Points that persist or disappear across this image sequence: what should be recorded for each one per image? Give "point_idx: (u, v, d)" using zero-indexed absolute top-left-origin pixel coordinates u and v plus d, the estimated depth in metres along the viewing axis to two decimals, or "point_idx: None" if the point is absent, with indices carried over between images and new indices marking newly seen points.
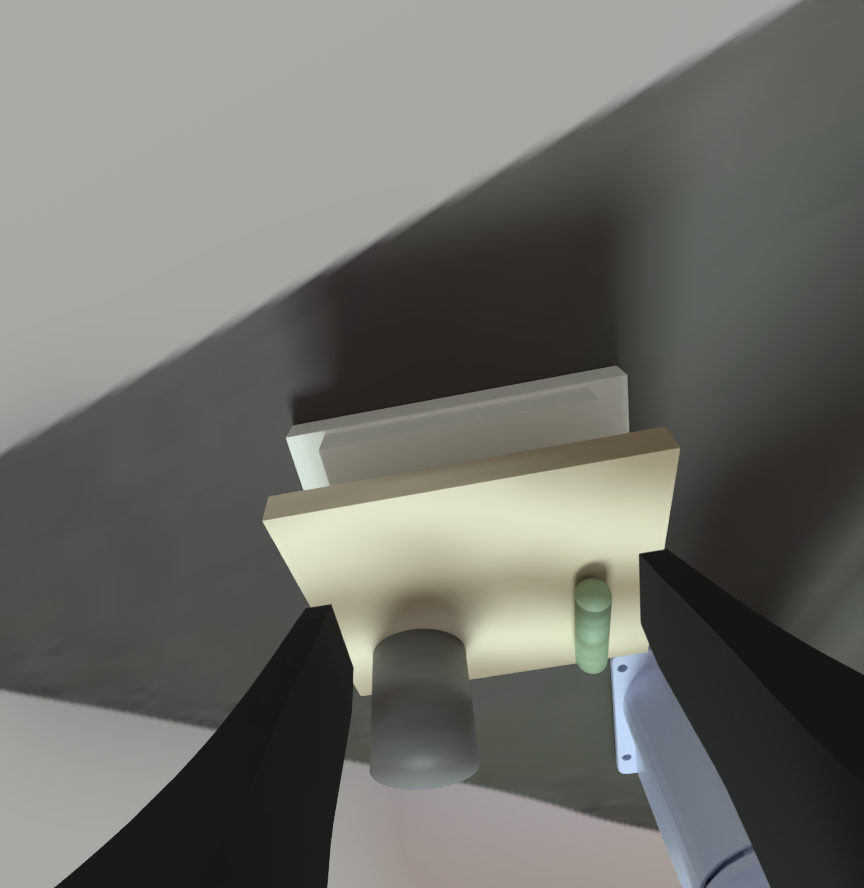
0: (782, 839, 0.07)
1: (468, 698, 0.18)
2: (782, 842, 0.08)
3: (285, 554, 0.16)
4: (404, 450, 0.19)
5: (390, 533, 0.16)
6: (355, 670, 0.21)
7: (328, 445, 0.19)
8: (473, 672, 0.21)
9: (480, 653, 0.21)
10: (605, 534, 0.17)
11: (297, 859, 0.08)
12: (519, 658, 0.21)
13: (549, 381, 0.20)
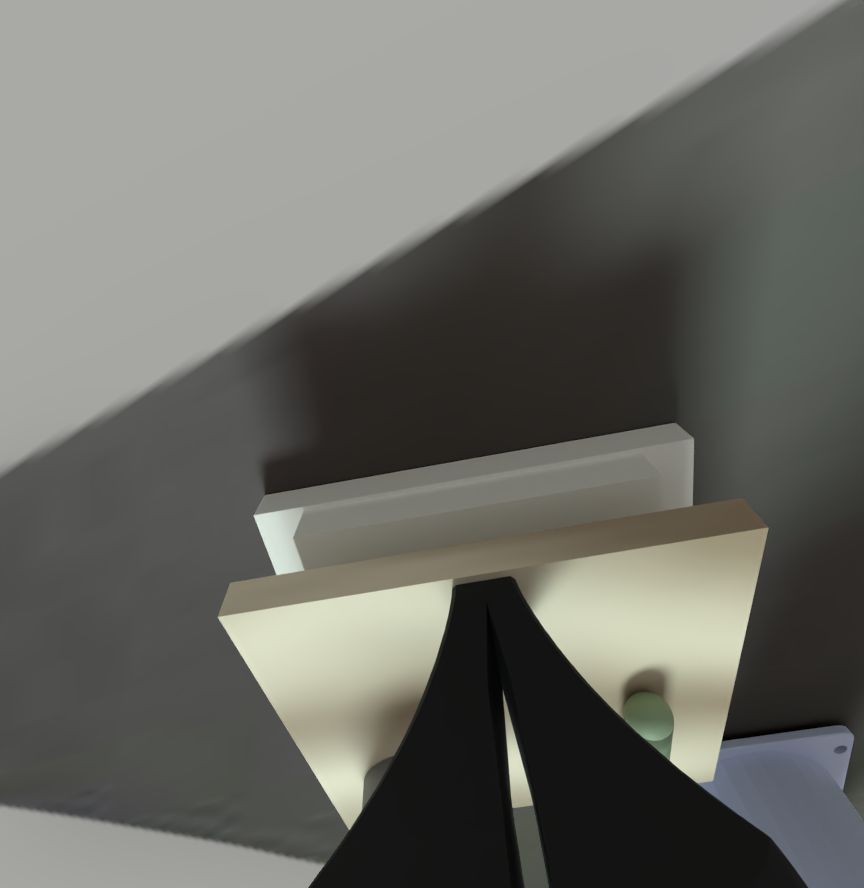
0: (546, 870, 0.08)
1: None
2: None
3: (249, 659, 0.12)
4: (404, 539, 0.14)
5: (385, 633, 0.12)
6: (342, 799, 0.16)
7: (306, 530, 0.15)
8: None
9: None
10: (664, 637, 0.13)
11: (512, 830, 0.08)
12: None
13: (590, 444, 0.16)
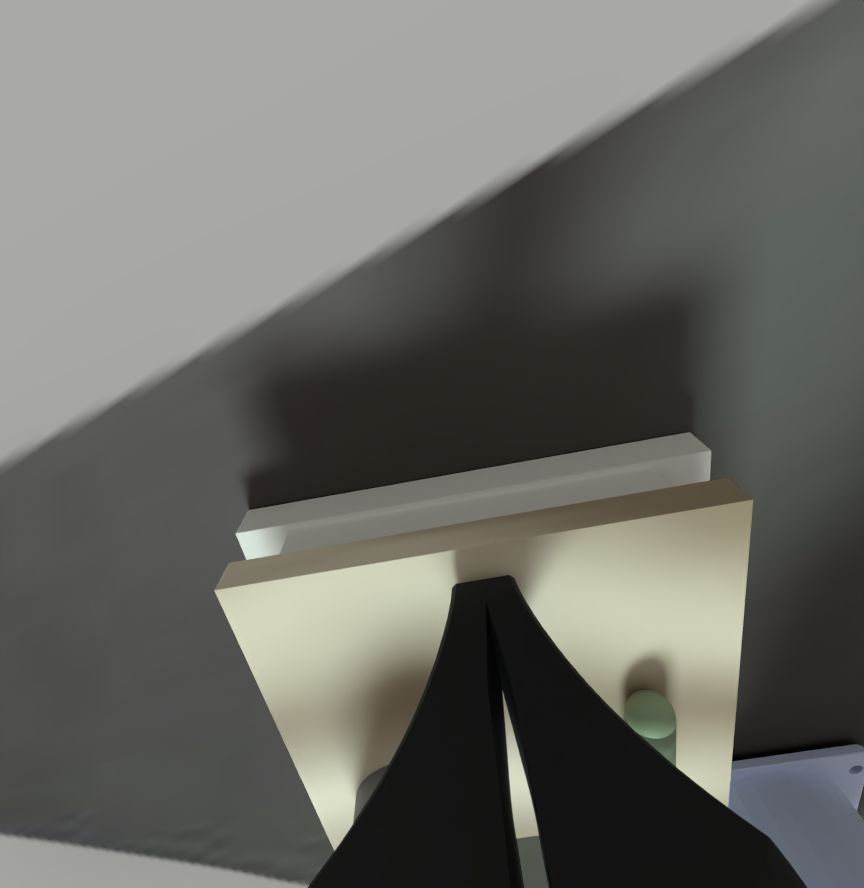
0: (546, 870, 0.08)
1: None
2: (546, 873, 0.08)
3: (243, 640, 0.12)
4: None
5: (378, 614, 0.12)
6: (332, 821, 0.15)
7: (291, 551, 0.13)
8: None
9: None
10: (660, 625, 0.13)
11: (512, 830, 0.08)
12: None
13: (598, 455, 0.15)
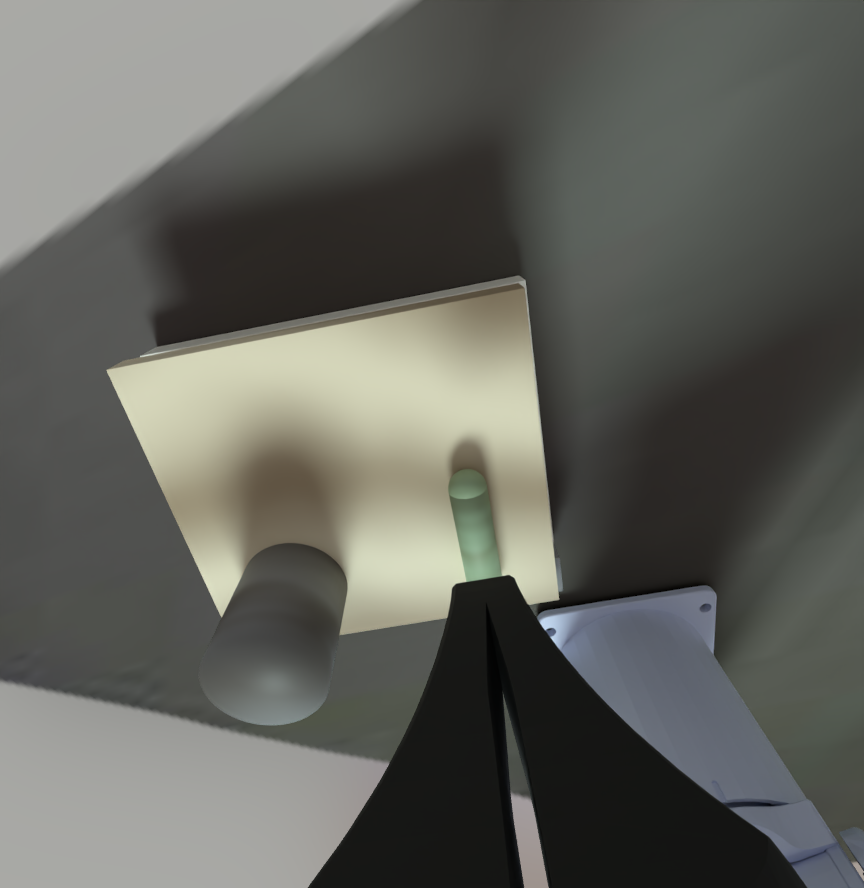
0: (545, 870, 0.08)
1: (330, 611, 0.16)
2: (546, 873, 0.08)
3: (133, 419, 0.16)
4: None
5: (240, 394, 0.15)
6: (226, 607, 0.19)
7: None
8: (361, 620, 0.19)
9: (364, 588, 0.18)
10: (471, 409, 0.16)
11: (512, 830, 0.08)
12: (411, 600, 0.19)
13: (441, 292, 0.18)
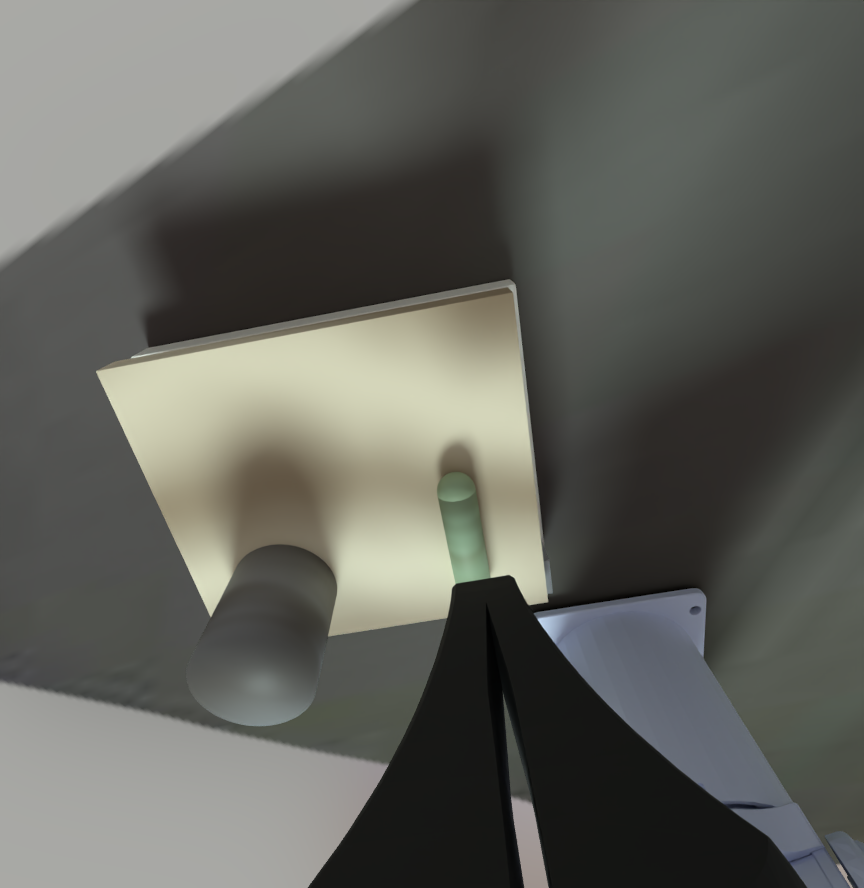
0: (546, 870, 0.08)
1: (319, 612, 0.16)
2: (546, 872, 0.08)
3: (123, 420, 0.16)
4: None
5: (230, 396, 0.15)
6: (216, 607, 0.19)
7: None
8: (351, 621, 0.19)
9: (354, 589, 0.18)
10: (459, 412, 0.16)
11: (512, 830, 0.08)
12: (400, 601, 0.19)
13: (432, 295, 0.18)
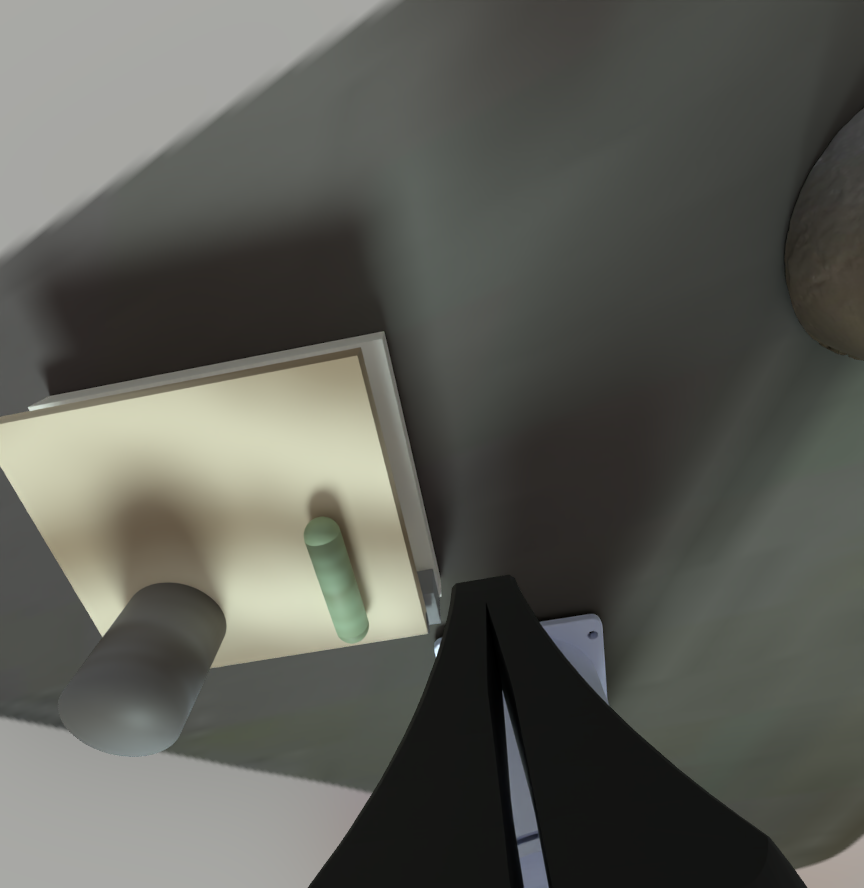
0: (546, 870, 0.08)
1: (193, 649, 0.17)
2: (546, 872, 0.08)
3: (8, 472, 0.17)
4: None
5: (105, 450, 0.16)
6: None
7: None
8: (243, 652, 0.20)
9: (242, 623, 0.20)
10: (321, 462, 0.17)
11: (512, 830, 0.08)
12: (287, 633, 0.20)
13: (310, 347, 0.19)
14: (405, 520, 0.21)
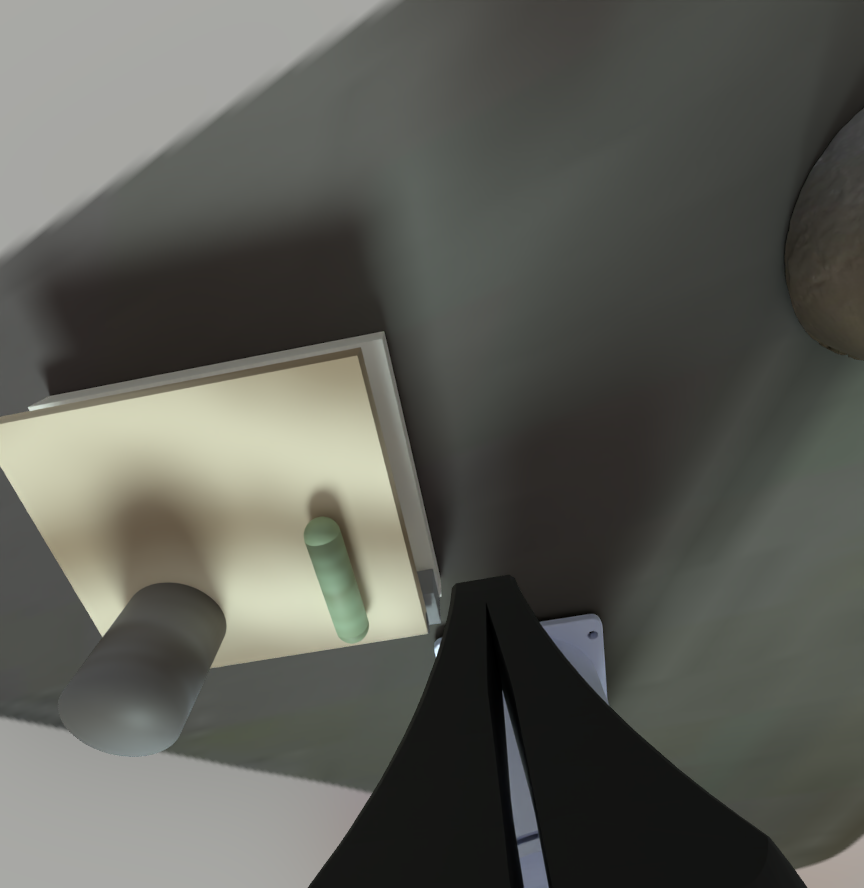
0: (546, 870, 0.08)
1: (193, 649, 0.17)
2: (546, 872, 0.08)
3: (8, 472, 0.17)
4: None
5: (105, 450, 0.16)
6: None
7: None
8: (243, 652, 0.20)
9: (242, 623, 0.20)
10: (321, 462, 0.17)
11: (512, 830, 0.08)
12: (287, 633, 0.20)
13: (310, 347, 0.19)
14: (405, 520, 0.21)
